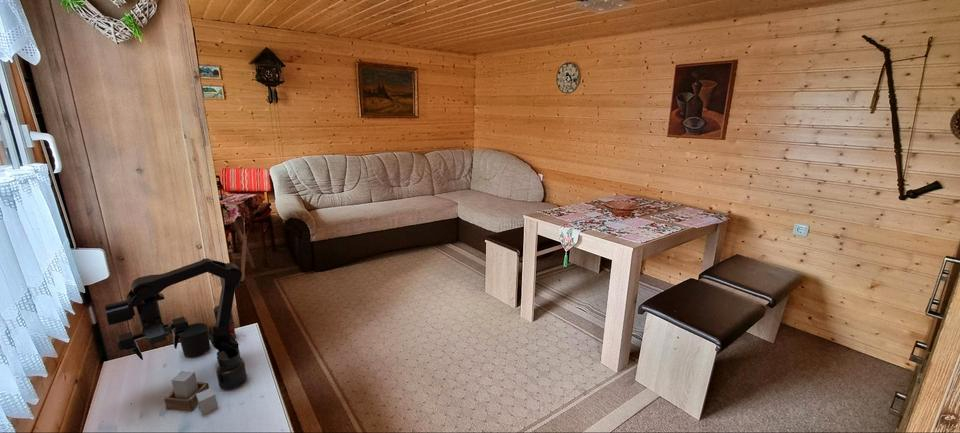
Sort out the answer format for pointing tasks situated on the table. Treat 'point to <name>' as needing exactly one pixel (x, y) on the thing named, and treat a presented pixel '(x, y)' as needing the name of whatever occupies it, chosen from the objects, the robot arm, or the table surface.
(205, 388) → the walnut collar
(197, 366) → the table surface
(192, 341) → the pen holder
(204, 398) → the grey block
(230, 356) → the ink bottle
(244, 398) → the table surface
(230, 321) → the deodorant
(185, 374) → the light grey rectangular block
